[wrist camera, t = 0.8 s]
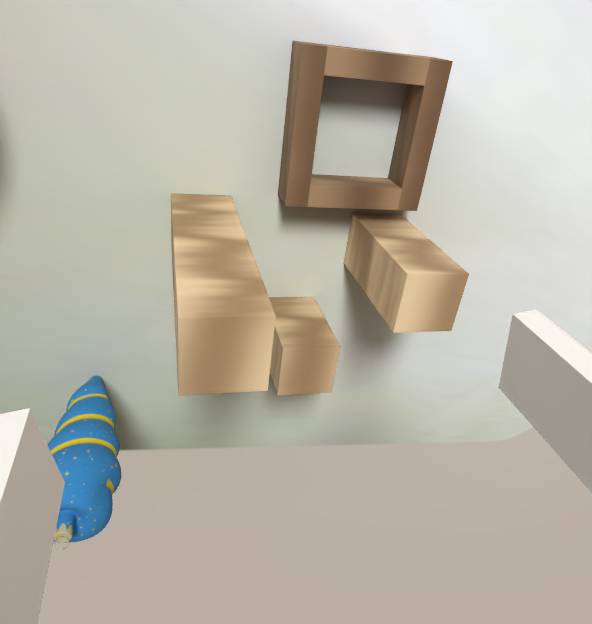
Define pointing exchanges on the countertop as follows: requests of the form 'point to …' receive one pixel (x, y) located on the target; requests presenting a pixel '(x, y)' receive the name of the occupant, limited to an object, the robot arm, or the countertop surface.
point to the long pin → (217, 300)
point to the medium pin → (404, 273)
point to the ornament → (86, 463)
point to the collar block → (410, 137)
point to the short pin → (302, 347)
